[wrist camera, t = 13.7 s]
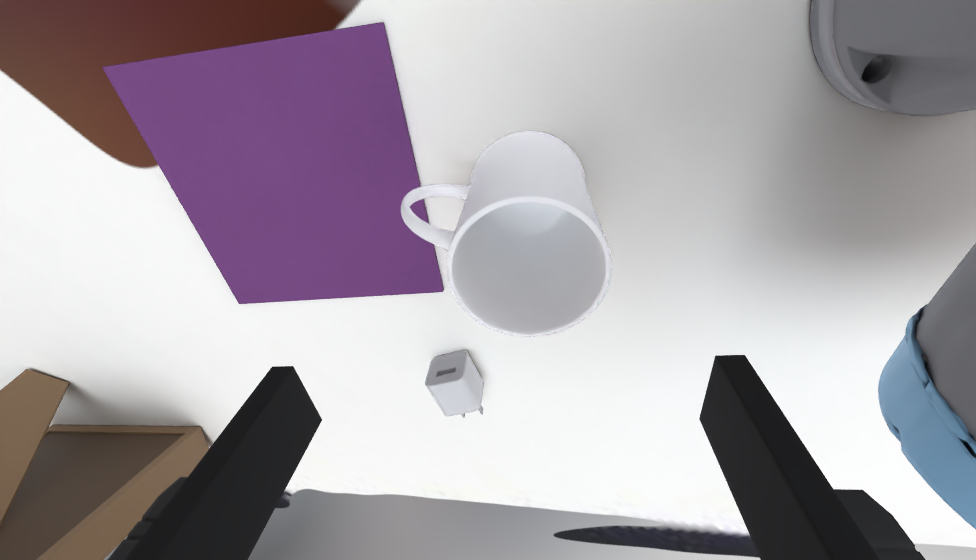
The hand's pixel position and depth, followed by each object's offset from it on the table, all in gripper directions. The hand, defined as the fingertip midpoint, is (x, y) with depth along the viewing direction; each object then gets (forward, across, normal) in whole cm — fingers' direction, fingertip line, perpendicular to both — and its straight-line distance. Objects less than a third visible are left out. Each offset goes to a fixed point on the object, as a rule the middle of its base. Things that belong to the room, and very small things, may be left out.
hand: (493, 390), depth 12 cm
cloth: (+19, +17, -1) cm, 26 cm away
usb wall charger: (+20, +7, +20) cm, 29 cm away
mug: (+20, +1, 0) cm, 20 cm away
